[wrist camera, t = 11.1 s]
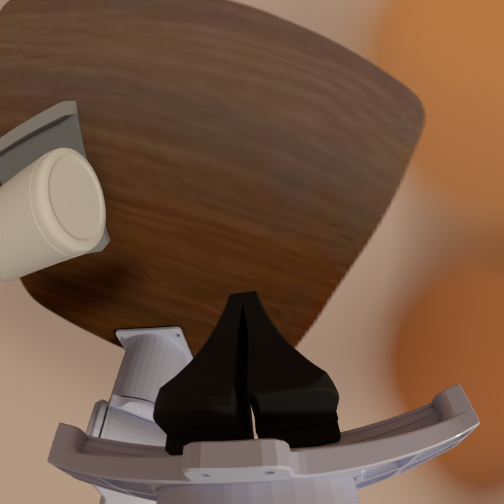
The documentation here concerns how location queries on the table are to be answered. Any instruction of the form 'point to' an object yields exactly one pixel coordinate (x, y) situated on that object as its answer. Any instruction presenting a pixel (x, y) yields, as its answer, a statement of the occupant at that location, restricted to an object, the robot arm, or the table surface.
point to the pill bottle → (49, 213)
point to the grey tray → (43, 144)
